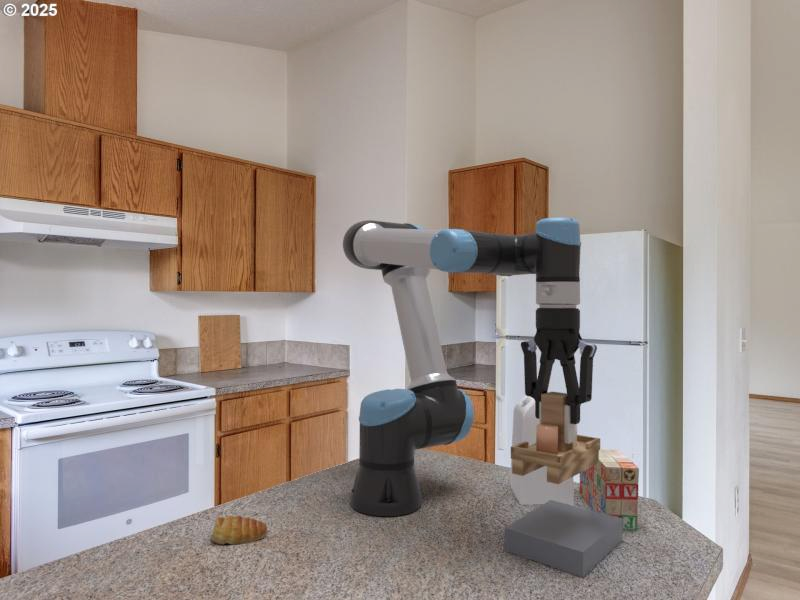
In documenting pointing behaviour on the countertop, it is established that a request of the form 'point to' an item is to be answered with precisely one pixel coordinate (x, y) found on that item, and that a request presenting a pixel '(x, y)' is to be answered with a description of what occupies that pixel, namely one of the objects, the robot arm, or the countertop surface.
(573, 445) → the white egg
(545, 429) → the brown egg
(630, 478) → the stack of blocks
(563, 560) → the dock
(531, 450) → the carrier tray
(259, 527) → the pastry
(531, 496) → the milk
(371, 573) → the countertop surface
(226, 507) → the countertop surface
